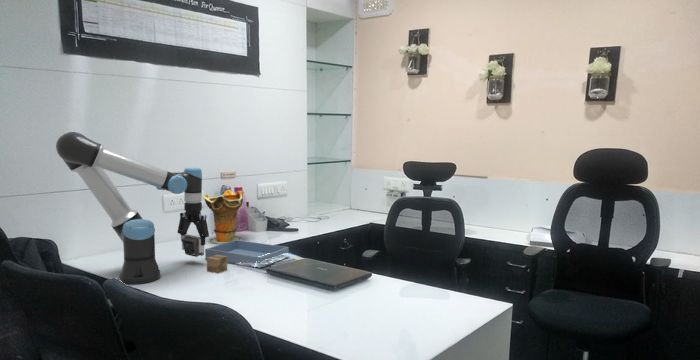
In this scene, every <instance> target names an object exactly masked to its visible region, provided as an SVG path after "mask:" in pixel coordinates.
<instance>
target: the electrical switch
mask: <svg viewBox="0 0 700 360" xmlns="http://www.w3.org/2000/svg"><path fill="white" fill-rule="evenodd" d="M185 235H186V237H185V238H184V239H182V242H183V246H184V250H183V251H184V253H185V255H187V256H191V257H195V258H197V257H198V258H199V256H202V257H203V256H204V255H205V251H204V252H201V253H199V238H200V236H197V235H192V234H185ZM182 242H181V243H182Z"/></svg>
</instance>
